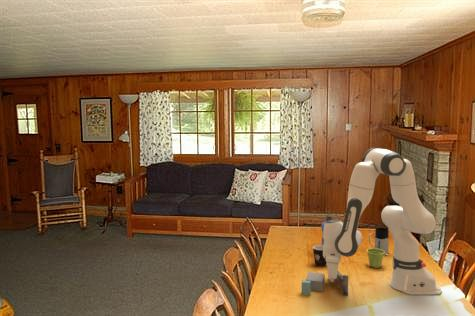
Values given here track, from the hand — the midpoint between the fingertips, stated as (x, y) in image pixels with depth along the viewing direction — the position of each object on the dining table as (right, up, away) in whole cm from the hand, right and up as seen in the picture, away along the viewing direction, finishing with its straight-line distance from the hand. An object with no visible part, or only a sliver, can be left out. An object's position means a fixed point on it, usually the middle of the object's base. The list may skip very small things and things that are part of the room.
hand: (331, 280), depth 186 cm
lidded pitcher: (+40, +1, +47) cm, 62 cm away
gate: (+3, -2, +3) cm, 5 cm away
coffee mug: (+2, -1, +29) cm, 29 cm away
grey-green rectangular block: (-14, -4, -6) cm, 15 cm away
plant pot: (+31, -1, +28) cm, 42 cm away
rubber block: (-8, -4, +3) cm, 9 cm away
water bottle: (+10, +1, +48) cm, 49 cm away
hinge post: (+5, -4, -7) cm, 9 cm away
